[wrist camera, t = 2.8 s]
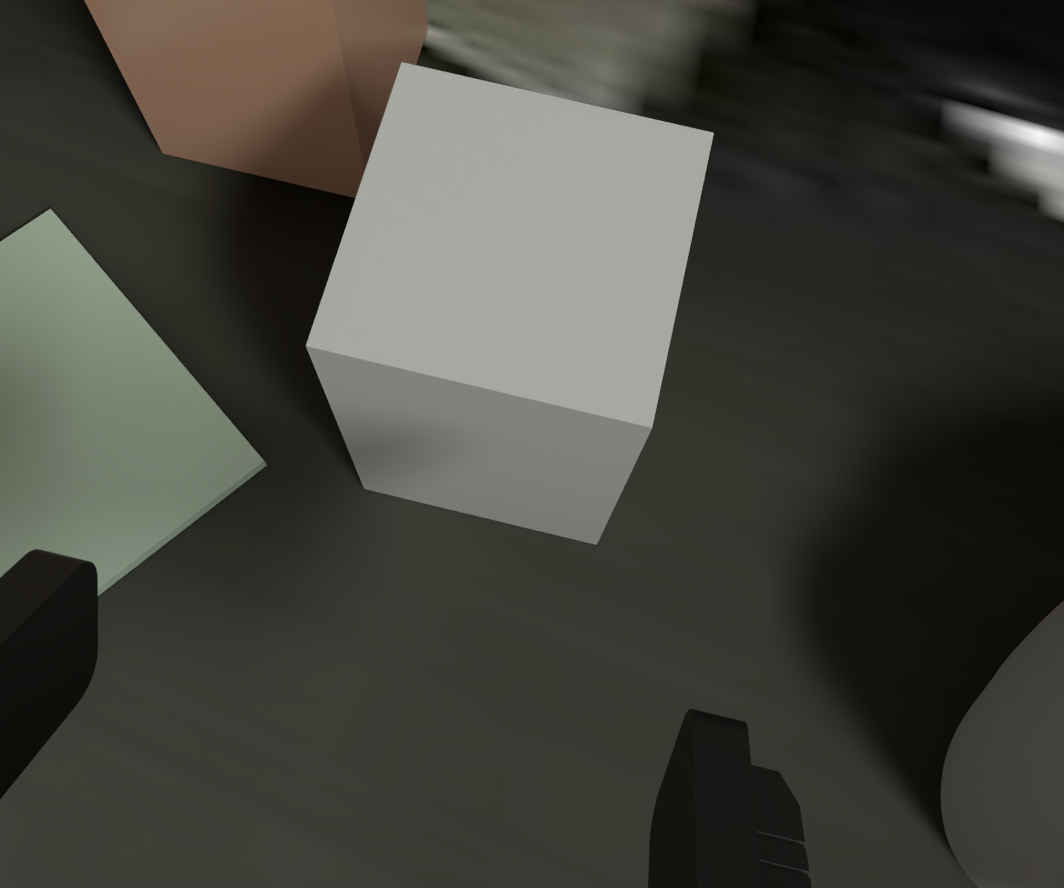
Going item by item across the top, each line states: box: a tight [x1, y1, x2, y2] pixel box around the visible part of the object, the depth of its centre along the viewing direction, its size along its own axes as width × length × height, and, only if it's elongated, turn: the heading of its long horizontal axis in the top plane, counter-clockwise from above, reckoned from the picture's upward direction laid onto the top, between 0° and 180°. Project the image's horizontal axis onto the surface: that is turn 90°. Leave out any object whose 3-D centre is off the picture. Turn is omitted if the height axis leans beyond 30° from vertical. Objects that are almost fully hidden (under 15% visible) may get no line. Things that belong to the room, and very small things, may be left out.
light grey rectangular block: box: [306, 62, 714, 545], centre depth 24 cm, size 6×6×9 cm
